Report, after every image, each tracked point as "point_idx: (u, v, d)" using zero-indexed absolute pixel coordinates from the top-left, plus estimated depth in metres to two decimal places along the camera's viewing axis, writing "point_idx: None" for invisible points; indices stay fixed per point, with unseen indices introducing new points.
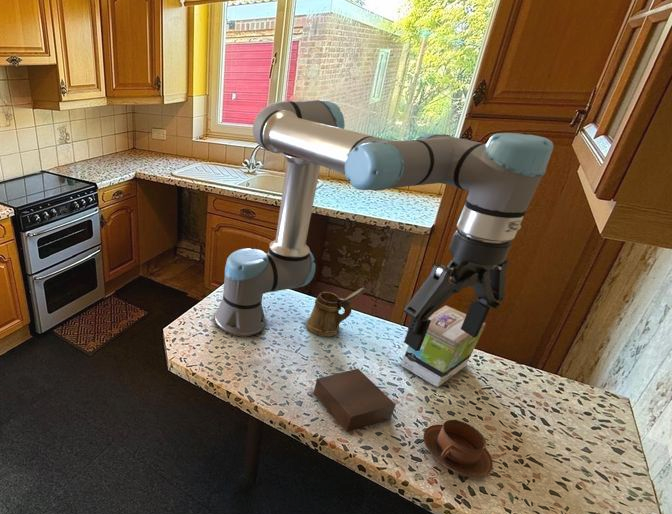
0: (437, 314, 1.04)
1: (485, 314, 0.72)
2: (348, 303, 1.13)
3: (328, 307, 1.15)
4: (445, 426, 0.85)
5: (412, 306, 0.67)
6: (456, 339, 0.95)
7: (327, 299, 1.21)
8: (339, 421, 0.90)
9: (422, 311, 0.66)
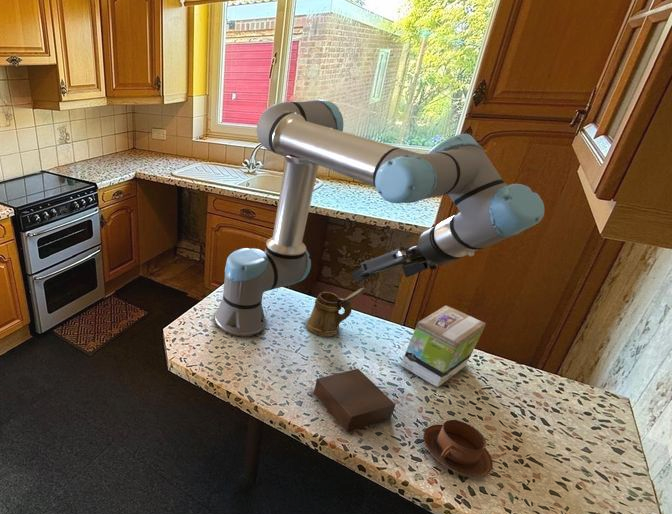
0: (437, 314, 1.04)
1: (422, 270, 0.93)
2: (348, 303, 1.13)
3: (328, 307, 1.15)
4: (445, 426, 0.85)
5: (367, 265, 0.87)
6: (456, 339, 0.95)
7: (327, 299, 1.21)
8: (339, 421, 0.90)
9: (371, 271, 0.87)
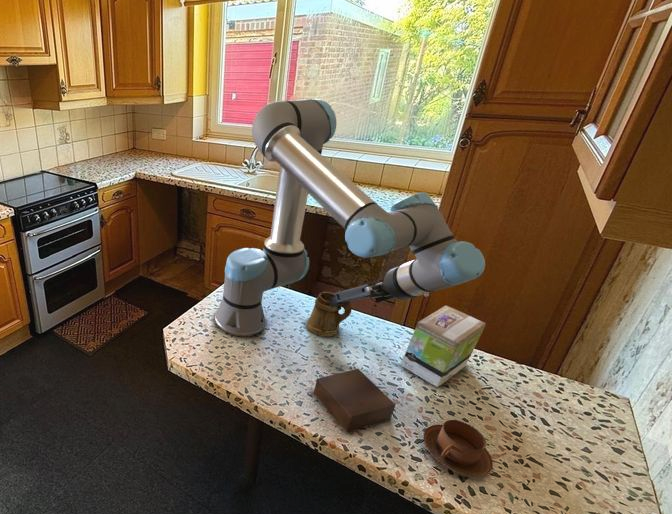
0: (437, 314, 1.04)
1: (390, 298, 1.04)
2: (348, 303, 1.13)
3: (328, 307, 1.15)
4: (445, 426, 0.85)
5: (339, 295, 0.98)
6: (456, 339, 0.95)
7: (327, 299, 1.21)
8: (339, 421, 0.90)
9: (343, 301, 0.98)
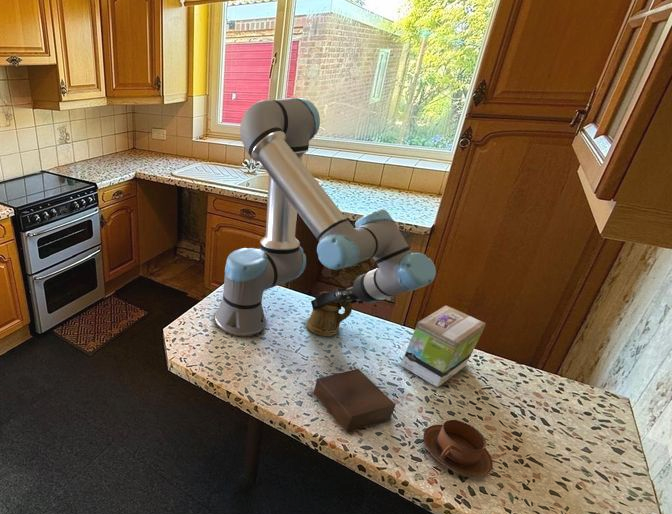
0: (437, 314, 1.04)
1: None
2: (348, 303, 1.14)
3: (329, 307, 1.15)
4: (445, 426, 0.85)
5: (318, 299, 1.10)
6: (456, 339, 0.95)
7: None
8: (339, 421, 0.90)
9: (322, 304, 1.10)
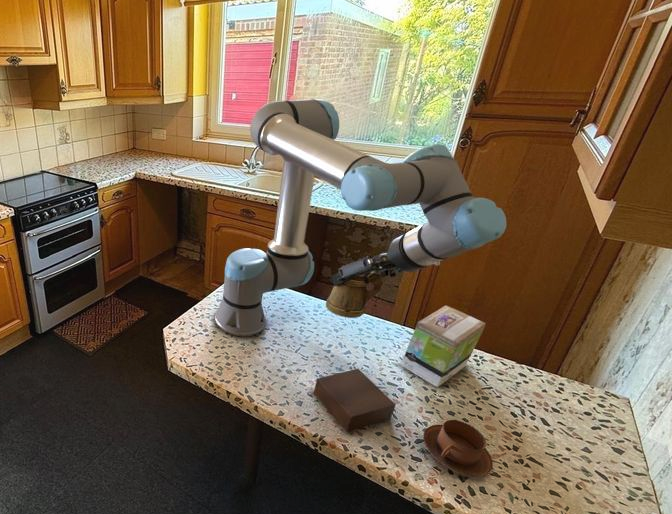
0: (437, 314, 1.04)
1: (383, 276, 0.95)
2: (378, 276, 0.93)
3: (354, 281, 0.95)
4: (445, 426, 0.85)
5: (343, 270, 0.90)
6: (456, 339, 0.95)
7: None
8: (339, 421, 0.90)
9: (347, 276, 0.90)
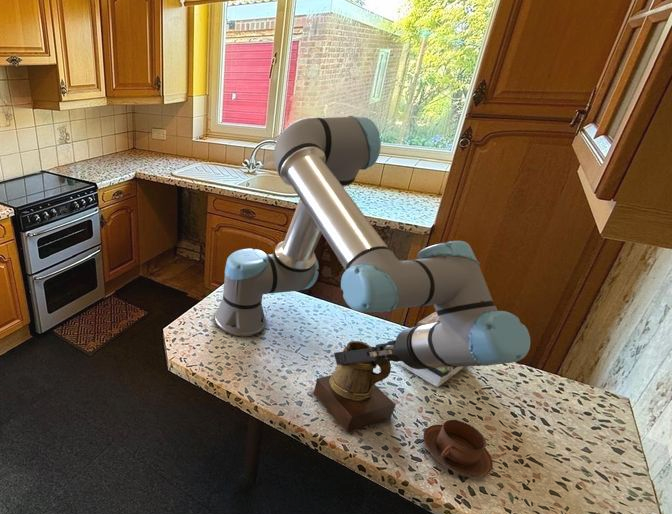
0: None
1: None
2: (386, 361, 0.85)
3: (359, 364, 0.87)
4: (445, 426, 0.85)
5: (346, 356, 0.83)
6: None
7: None
8: (339, 421, 0.90)
9: None
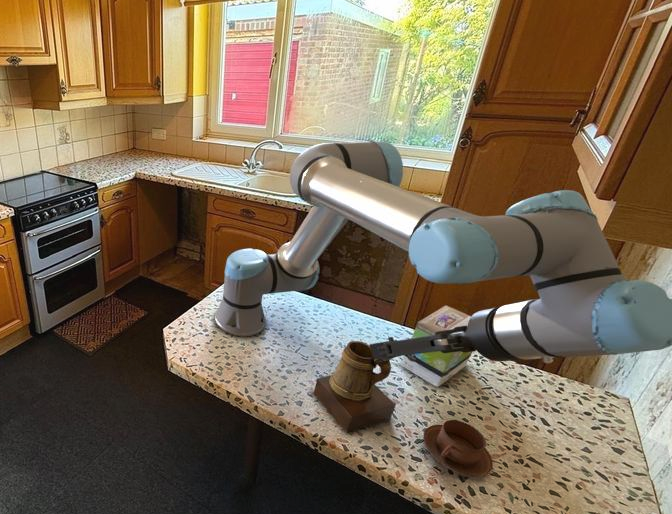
0: (437, 314, 1.04)
1: None
2: (386, 361, 0.85)
3: (359, 364, 0.87)
4: (445, 426, 0.85)
5: (392, 347, 0.65)
6: None
7: (359, 351, 0.92)
8: (339, 421, 0.90)
9: (398, 356, 0.65)
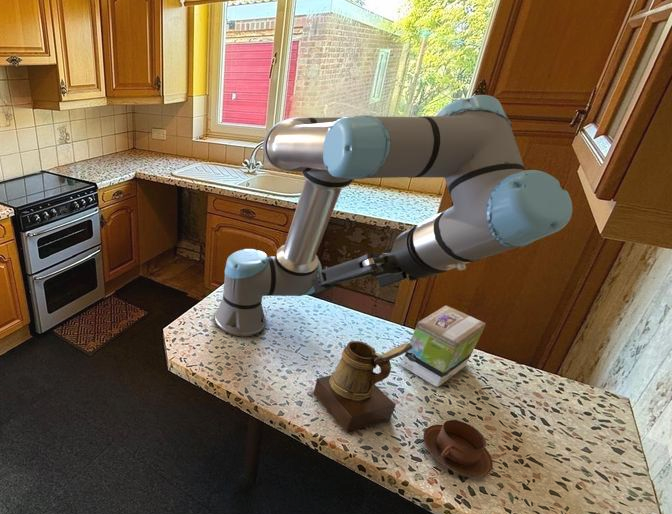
0: (437, 314, 1.04)
1: (399, 280, 0.72)
2: (386, 361, 0.85)
3: (359, 364, 0.87)
4: (445, 426, 0.85)
5: (326, 274, 0.67)
6: (456, 339, 0.95)
7: (359, 351, 0.92)
8: (339, 421, 0.90)
9: (332, 282, 0.66)
